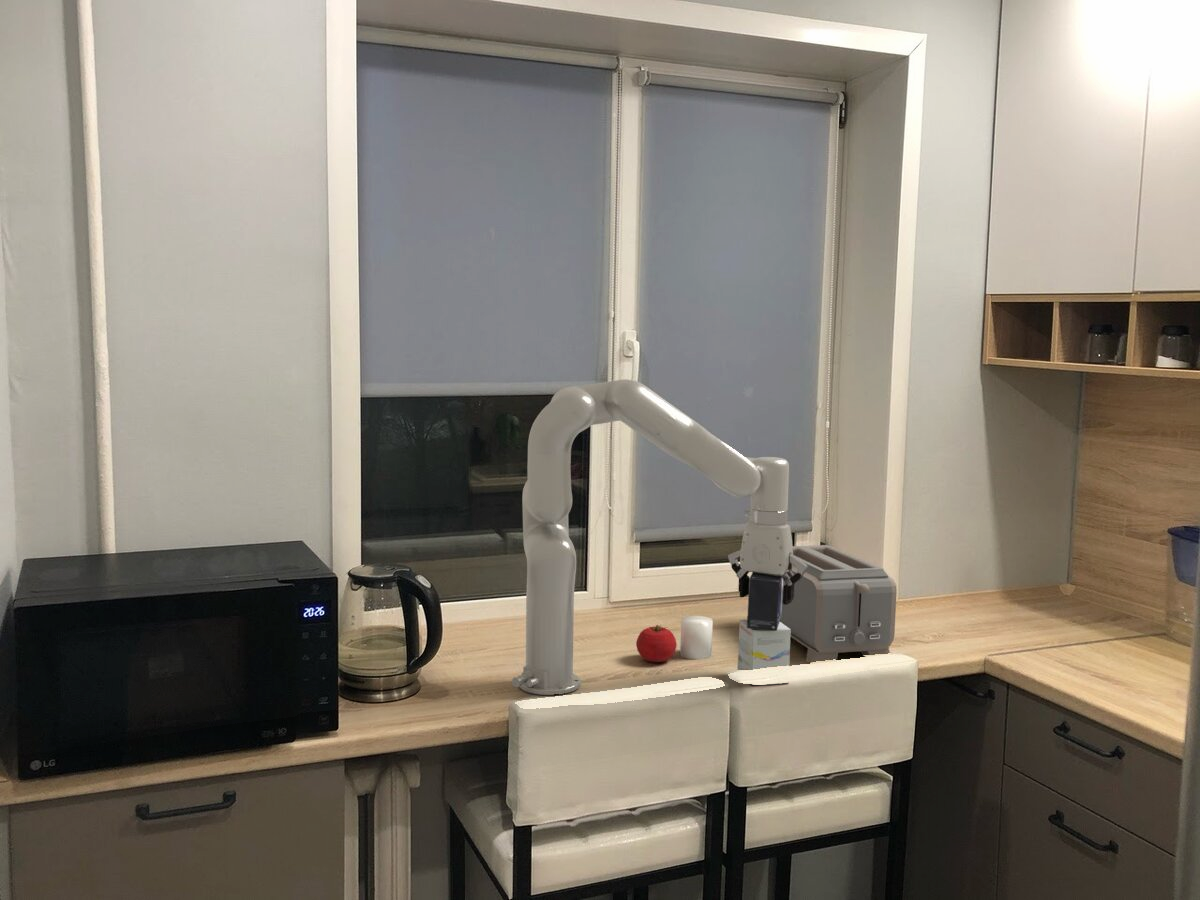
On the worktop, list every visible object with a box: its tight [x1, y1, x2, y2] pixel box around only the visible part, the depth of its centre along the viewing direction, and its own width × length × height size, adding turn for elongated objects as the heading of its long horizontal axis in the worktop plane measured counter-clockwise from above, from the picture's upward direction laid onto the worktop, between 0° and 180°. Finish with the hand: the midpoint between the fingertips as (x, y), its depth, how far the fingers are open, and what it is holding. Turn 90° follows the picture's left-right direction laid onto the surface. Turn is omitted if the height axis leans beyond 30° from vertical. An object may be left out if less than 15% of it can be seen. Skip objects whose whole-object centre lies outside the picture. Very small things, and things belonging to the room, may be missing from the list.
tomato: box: [635, 624, 678, 663], centre depth 221 cm, size 9×9×8 cm
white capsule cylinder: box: [679, 615, 714, 661], centre depth 226 cm, size 7×7×8 cm
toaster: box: [780, 544, 898, 663], centre depth 235 cm, size 19×35×20 cm, turn 14°
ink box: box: [736, 619, 791, 670], centre depth 210 cm, size 9×9×12 cm
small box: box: [746, 572, 783, 631], centre depth 209 cm, size 11×6×10 cm, turn 165°
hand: (765, 599), depth 209 cm, fingers open, 9 cm apart
